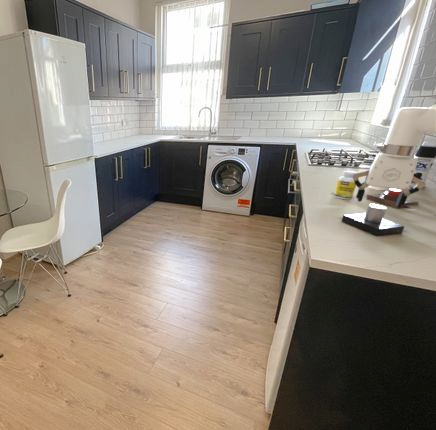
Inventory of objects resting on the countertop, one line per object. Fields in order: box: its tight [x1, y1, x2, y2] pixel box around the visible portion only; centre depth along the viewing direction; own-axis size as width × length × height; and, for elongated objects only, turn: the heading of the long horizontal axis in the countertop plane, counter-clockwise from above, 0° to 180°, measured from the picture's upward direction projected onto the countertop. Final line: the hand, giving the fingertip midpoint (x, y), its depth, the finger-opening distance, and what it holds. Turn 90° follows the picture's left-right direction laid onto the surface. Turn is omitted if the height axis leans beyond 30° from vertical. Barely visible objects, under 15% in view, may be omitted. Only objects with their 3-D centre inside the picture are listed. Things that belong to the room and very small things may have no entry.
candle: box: [368, 186, 387, 191], centre depth 131 cm, size 6×6×15 cm
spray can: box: [409, 144, 436, 188], centre depth 134 cm, size 7×7×20 cm
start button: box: [387, 188, 402, 196], centre depth 115 cm, size 4×4×2 cm
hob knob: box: [364, 203, 388, 223], centre depth 93 cm, size 4×4×5 cm
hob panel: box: [340, 212, 405, 237], centre depth 94 cm, size 12×10×3 cm
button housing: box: [366, 190, 420, 210], centre depth 116 cm, size 12×10×4 cm
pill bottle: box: [333, 170, 359, 200], centre depth 121 cm, size 6×6×12 cm
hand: (377, 203), depth 91 cm, fingers open, 9 cm apart
